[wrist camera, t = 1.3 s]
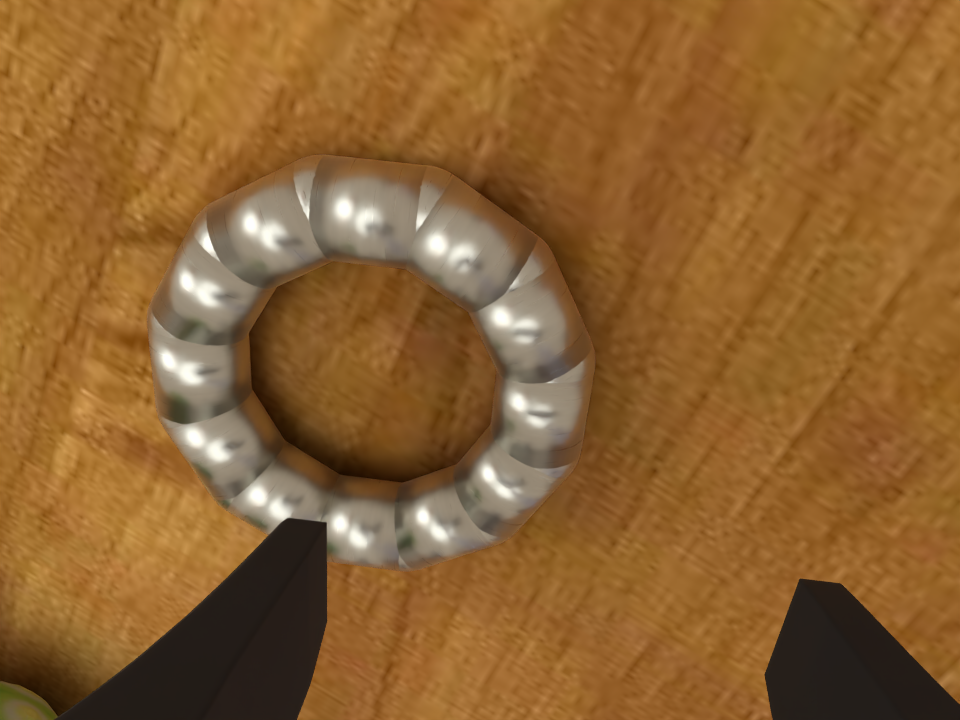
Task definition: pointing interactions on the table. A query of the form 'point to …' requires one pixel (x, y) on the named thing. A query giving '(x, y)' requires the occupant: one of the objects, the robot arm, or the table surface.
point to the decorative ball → (22, 704)
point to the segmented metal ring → (387, 243)
